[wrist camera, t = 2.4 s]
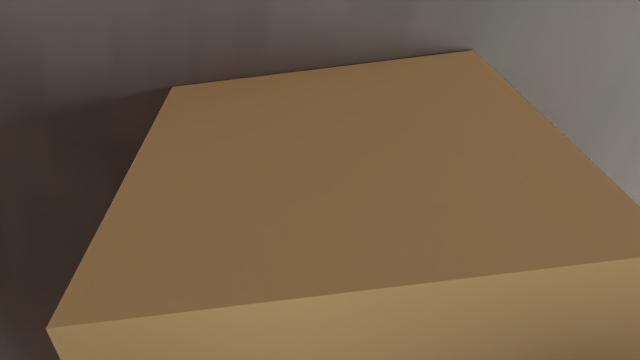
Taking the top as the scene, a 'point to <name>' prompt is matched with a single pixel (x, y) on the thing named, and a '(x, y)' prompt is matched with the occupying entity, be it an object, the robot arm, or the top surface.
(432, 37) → the top surface
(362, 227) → the tea box
